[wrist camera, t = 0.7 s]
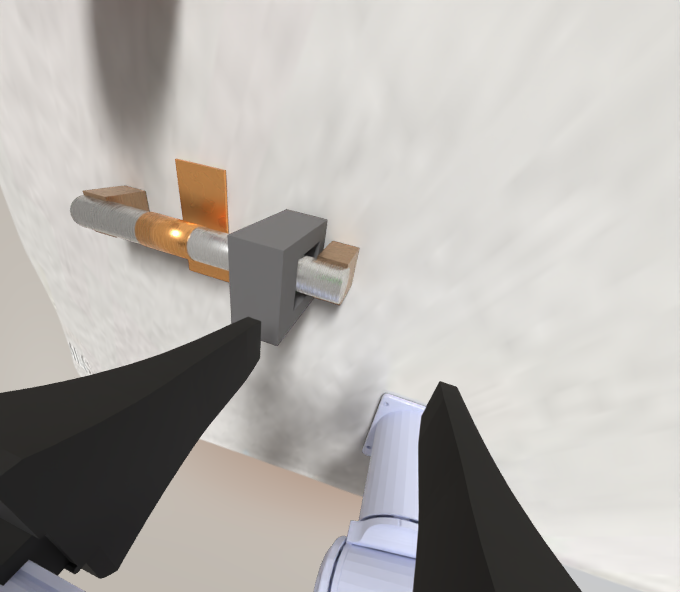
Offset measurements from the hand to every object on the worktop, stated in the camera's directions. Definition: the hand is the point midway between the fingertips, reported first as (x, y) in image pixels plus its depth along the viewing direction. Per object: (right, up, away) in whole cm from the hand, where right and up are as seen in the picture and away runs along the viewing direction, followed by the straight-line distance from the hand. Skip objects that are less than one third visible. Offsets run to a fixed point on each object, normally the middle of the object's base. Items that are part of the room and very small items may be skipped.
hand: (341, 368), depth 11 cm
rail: (-8, +8, +11) cm, 16 cm away
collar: (-3, +6, +10) cm, 12 cm away
